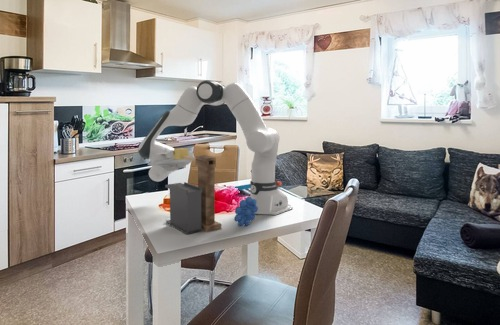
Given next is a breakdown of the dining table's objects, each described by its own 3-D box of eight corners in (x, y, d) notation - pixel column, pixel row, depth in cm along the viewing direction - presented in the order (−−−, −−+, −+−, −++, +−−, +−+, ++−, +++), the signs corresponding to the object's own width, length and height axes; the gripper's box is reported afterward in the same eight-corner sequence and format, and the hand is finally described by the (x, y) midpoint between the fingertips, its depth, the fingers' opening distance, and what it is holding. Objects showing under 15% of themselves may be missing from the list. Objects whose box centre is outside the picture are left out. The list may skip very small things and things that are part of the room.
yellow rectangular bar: (183, 158, 163) (182, 148, 163) (203, 160, 150) (202, 150, 150) (174, 158, 161) (173, 148, 160) (193, 161, 148) (193, 151, 147)
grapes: (250, 220, 158) (251, 193, 156) (260, 224, 152) (261, 196, 151) (228, 225, 151) (228, 197, 149) (238, 229, 145) (238, 200, 143)
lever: (232, 199, 213) (251, 196, 198) (230, 187, 213) (249, 184, 199) (241, 197, 217) (260, 195, 203) (239, 185, 217) (258, 182, 203)
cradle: (181, 220, 157) (180, 180, 154) (202, 230, 143) (202, 187, 141) (165, 223, 152) (165, 182, 150) (186, 234, 139) (186, 190, 136)
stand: (205, 221, 156) (204, 154, 151) (221, 228, 146) (221, 157, 142) (190, 224, 151) (190, 155, 147) (206, 232, 142) (206, 159, 138)
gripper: (144, 159, 166) (155, 146, 155) (184, 155, 178) (197, 144, 168) (147, 172, 164) (159, 160, 154) (188, 167, 177) (200, 156, 167)
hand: (179, 151), depth 161 cm, fingers closed on yellow rectangular bar, 4 cm apart
